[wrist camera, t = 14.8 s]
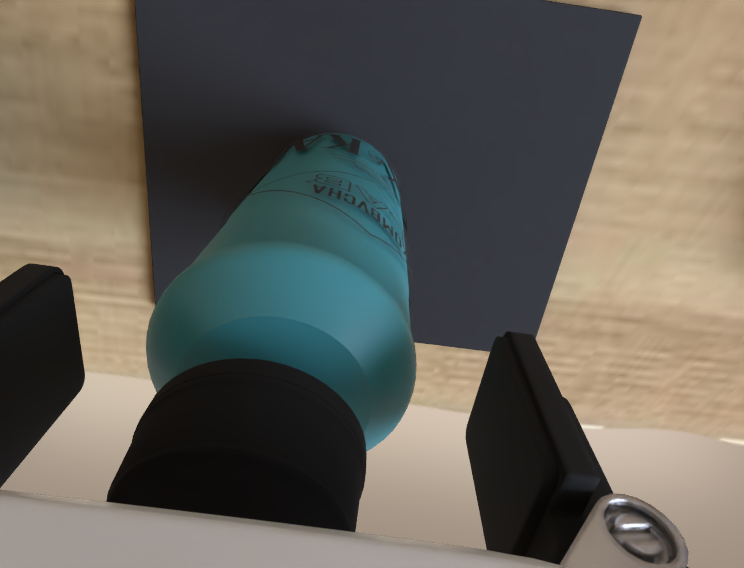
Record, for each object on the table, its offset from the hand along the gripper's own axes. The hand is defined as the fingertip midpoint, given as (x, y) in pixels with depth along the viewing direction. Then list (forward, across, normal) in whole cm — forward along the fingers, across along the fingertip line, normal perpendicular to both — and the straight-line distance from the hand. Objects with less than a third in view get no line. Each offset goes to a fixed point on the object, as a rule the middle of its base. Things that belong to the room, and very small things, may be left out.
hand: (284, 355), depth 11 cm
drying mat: (+16, -1, 0) cm, 16 cm away
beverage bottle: (+16, 0, +1) cm, 16 cm away
